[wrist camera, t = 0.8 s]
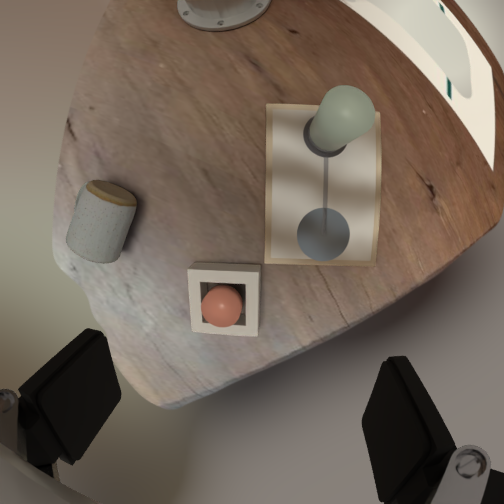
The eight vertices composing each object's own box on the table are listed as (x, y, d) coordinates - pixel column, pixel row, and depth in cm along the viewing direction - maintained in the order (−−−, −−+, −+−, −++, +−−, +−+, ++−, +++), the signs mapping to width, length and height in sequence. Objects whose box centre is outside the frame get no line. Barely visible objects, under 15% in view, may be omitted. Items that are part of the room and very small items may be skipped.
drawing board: (266, 106, 29) (266, 103, 28) (376, 114, 28) (380, 112, 26) (265, 260, 33) (264, 263, 32) (371, 263, 32) (375, 266, 31)
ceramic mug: (150, 199, 33) (117, 203, 25) (129, 256, 35) (96, 272, 28) (92, 168, 33) (55, 167, 25) (75, 221, 35) (39, 230, 28)
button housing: (195, 262, 34) (187, 269, 31) (260, 264, 33) (258, 272, 30) (198, 320, 36) (192, 331, 33) (259, 324, 35) (257, 336, 32)
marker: (307, 117, 28) (320, 82, 17) (343, 119, 27) (373, 88, 17) (307, 152, 29) (322, 134, 18) (343, 154, 28) (376, 139, 18)
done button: (204, 283, 32) (199, 289, 30) (242, 285, 32) (240, 292, 30) (206, 318, 33) (202, 325, 31) (242, 320, 33) (240, 328, 31)
